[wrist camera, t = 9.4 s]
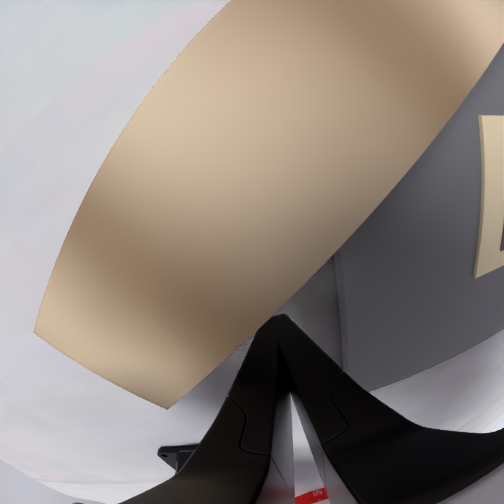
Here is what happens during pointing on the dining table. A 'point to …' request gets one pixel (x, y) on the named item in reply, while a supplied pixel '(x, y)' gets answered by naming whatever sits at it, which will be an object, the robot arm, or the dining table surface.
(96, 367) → the swing arm
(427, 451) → the robot arm
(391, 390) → the dining table surface
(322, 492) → the kitchen timer
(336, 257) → the label panel
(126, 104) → the dining table surface
